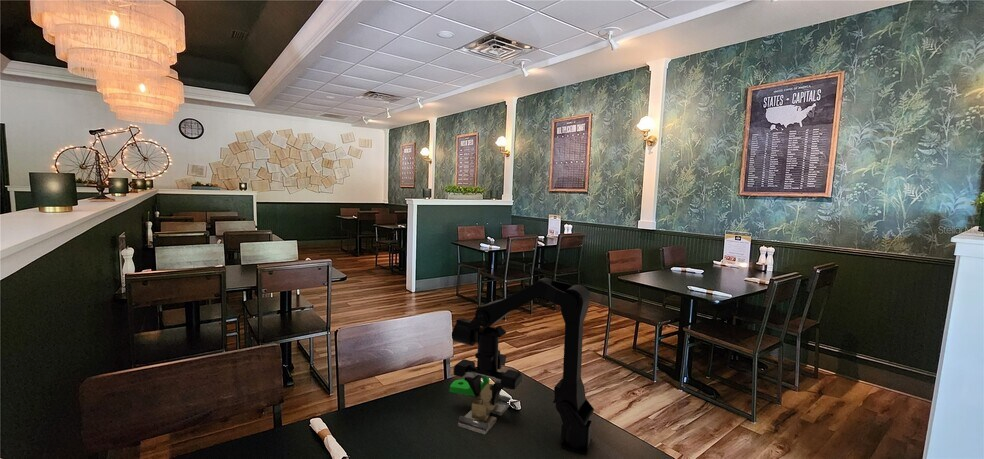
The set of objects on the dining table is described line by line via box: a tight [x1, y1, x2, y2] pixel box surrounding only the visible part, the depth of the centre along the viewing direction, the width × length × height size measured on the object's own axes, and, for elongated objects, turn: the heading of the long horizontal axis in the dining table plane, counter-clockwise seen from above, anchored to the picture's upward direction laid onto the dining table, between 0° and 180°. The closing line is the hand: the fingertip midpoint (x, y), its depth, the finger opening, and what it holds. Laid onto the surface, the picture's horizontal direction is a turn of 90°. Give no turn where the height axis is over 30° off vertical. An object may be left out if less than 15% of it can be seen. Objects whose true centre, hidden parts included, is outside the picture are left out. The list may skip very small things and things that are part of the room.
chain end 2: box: [490, 394, 512, 416], centre depth 120 cm, size 8×7×2 cm
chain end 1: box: [457, 409, 498, 435], centre depth 111 cm, size 8×7×2 cm
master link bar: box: [471, 383, 501, 421], centre depth 115 cm, size 4×12×5 cm, turn 161°
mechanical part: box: [449, 376, 490, 397], centre depth 129 cm, size 12×6×8 cm, turn 76°
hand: (486, 402), depth 115 cm, fingers open, 4 cm apart
